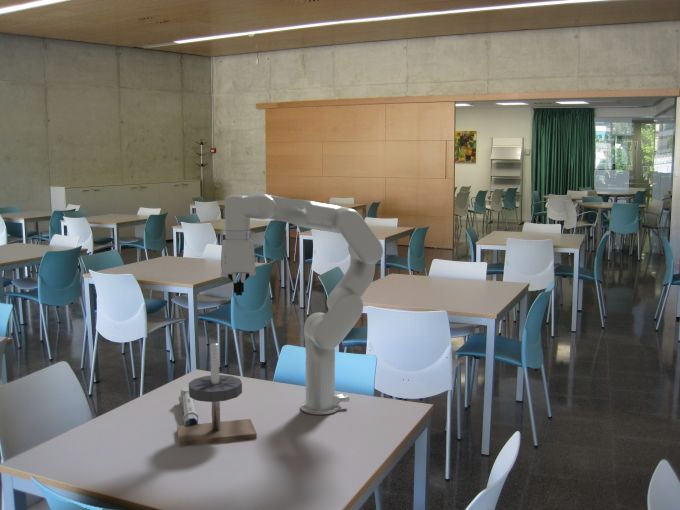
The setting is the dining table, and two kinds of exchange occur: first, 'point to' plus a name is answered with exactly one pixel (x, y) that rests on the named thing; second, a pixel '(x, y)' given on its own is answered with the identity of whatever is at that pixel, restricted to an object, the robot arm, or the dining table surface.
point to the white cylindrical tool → (188, 407)
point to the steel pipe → (215, 381)
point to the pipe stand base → (215, 432)
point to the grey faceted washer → (215, 388)
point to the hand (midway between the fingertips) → (238, 294)
